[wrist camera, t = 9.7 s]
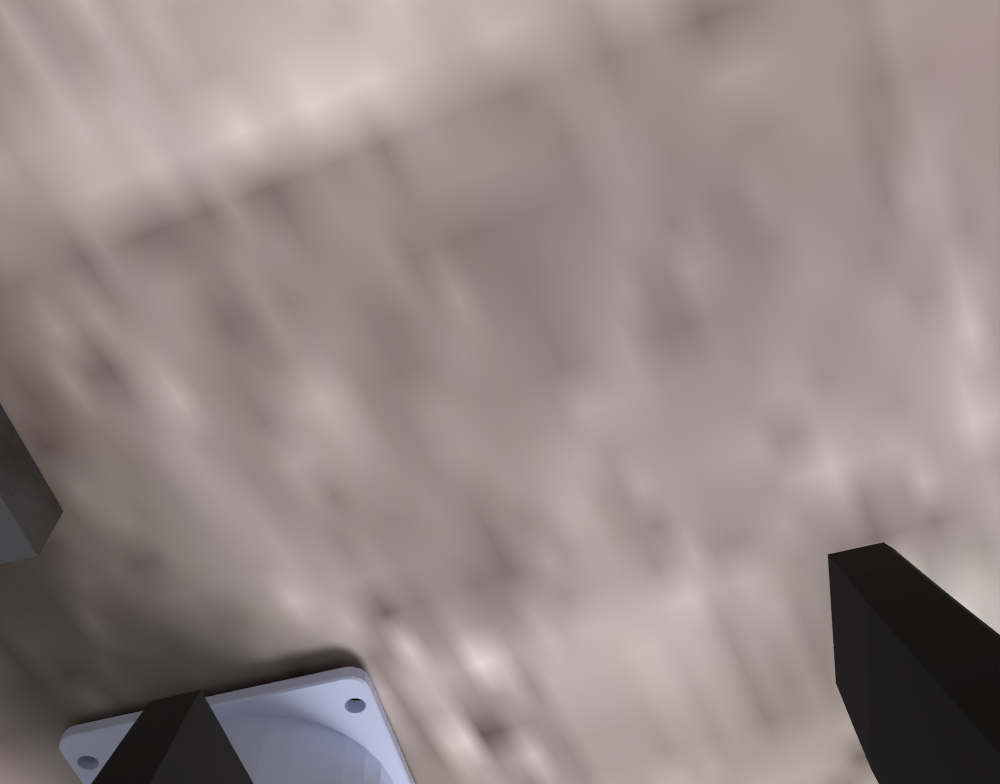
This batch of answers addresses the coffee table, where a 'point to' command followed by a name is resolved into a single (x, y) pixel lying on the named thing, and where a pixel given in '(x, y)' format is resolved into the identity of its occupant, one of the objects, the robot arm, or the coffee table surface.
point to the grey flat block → (22, 500)
